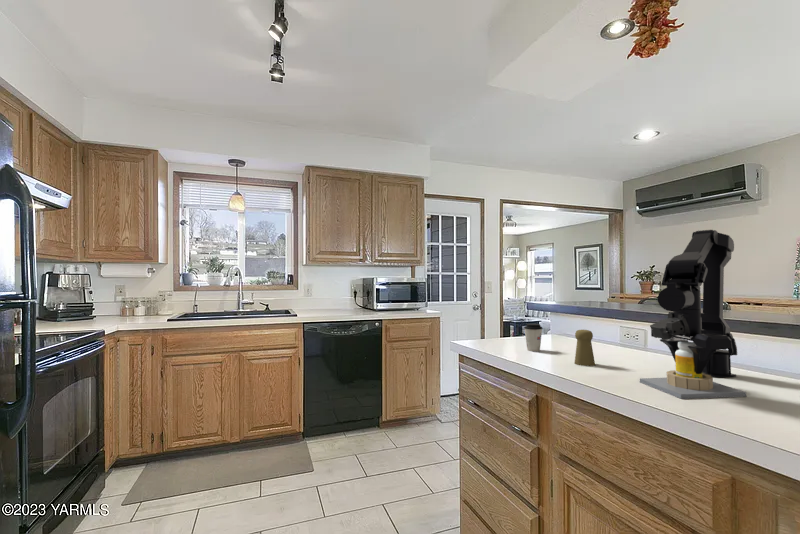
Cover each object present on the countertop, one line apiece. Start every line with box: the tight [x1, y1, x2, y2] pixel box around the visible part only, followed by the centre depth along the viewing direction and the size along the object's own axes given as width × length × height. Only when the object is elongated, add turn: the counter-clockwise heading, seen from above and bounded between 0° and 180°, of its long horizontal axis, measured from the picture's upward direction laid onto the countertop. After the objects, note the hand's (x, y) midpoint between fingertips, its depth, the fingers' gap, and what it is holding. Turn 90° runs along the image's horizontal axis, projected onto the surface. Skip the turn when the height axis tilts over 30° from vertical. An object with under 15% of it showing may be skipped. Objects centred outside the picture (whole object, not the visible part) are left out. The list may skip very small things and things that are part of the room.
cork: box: [574, 329, 596, 367], centre depth 125 cm, size 6×6×11 cm
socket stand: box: [639, 369, 747, 400], centre depth 96 cm, size 16×14×4 cm
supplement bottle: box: [674, 341, 702, 378], centre depth 97 cm, size 5×5×10 cm
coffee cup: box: [523, 323, 543, 352], centre depth 148 cm, size 7×7×10 cm
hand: (688, 370), depth 97 cm, fingers closed on supplement bottle, 5 cm apart
